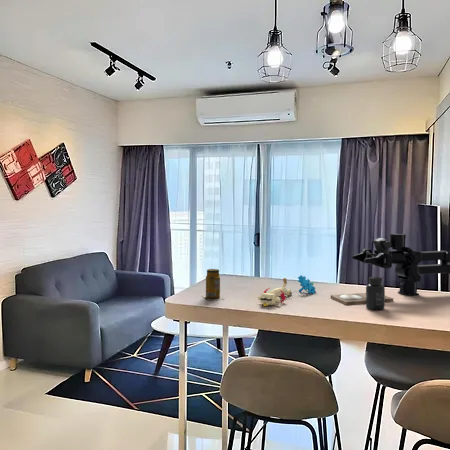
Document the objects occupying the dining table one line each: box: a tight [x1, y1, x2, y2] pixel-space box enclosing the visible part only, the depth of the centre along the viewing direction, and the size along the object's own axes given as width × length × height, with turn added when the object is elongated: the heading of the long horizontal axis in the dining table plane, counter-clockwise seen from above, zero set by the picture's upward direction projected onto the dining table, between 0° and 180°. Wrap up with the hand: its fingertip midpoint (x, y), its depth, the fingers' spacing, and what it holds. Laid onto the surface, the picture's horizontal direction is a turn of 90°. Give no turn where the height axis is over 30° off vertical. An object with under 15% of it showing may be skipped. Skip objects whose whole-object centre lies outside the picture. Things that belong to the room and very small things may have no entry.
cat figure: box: [257, 277, 293, 307], centre depth 181 cm, size 10×9×25 cm
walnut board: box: [330, 292, 394, 306], centre depth 182 cm, size 22×12×1 cm, turn 105°
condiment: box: [202, 268, 225, 301], centre depth 185 cm, size 7×8×12 cm
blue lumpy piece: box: [297, 274, 317, 295], centre depth 196 cm, size 11×6×10 cm
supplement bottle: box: [365, 276, 386, 312], centre depth 168 cm, size 7×7×12 cm
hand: (358, 258), depth 185 cm, fingers open, 9 cm apart
